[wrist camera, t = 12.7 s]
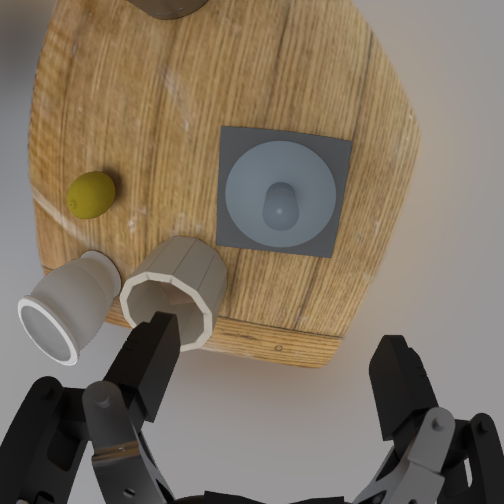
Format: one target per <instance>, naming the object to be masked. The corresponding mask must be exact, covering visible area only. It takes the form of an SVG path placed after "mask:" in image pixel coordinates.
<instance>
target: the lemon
mask: <svg viewBox="0 0 504 504" xmlns="http://www.w3.org/2000/svg"><path fill="white" fill-rule="evenodd" d="M114 198H115V186H114V183H113V181H112V179H111V178H110V177H109V176H108V175H106V174H105V173H102V172H97V171H93V172H88V173H85V174H83V175H82V176H80V177H78V178H77V179H76V180H75V181H74V182H73V183H72V184H71V186H70V188H69V190H68V193H67V205H68V208H69V210H70V211H71V213H72V214H73V215H75V216H76V217H78V218H80V219H92V218H96V217H98V216H100V215H102V214H103V213H105V212H106V211H107V210H108V209H109V208H110V207H111V205H112V203H113V201H114Z"/></svg>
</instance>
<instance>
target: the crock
mask: <svg viewBox="0 0 504 504" xmlns="http://www.w3.org/2000/svg"><path fill="white" fill-rule="evenodd" d="M160 281H161V282H168V283H171V284H173V285H174V286H176V287H178V288H179V289H181V290H182V291H184V292H186V293H187V294H189V295H190V296H191V297H192V298H193V300H194V301H195V302H188V303H181V304H174V305H171V304H170V302H169V300H168V298H167V295H166V293H165V291H164V289H163V287H162V285H161V283H160ZM226 289H227V268H226V266H225V265H224V263H223V261H222V259H221V258H220V256H219V254H218V252H217V251H216V250H215V249H213V248H212V247H210V246H209V245H207V244H205V243H204V242H202V241H201V240H199V239H198V238H191V237H182V236H174V237H172V238H170V239H168V240H166V241H164V242H162V243H160V244H158V245H157V246H156V247H155V248H154V250H153V251H152V252H151V253H150V254H149V255H148V256H147V257H146V258H145V260H144V261H143V262H142V263H141V264H140V265H139V266H138V267H137V269H136V270H135V271H134V272H133V273H132V274H131V276H130V277H129V278H128V279H127V280H126V282H125V285H124V287H123V289H122V292H121V294H120V297H119V298H120V302H121V306H122V310H123V314H124V317H125V319H126V320H127V321H128V322H129V324H130V325H131V326H132V328H133V329H134V328H135V327H136V326H137V325H139V324H140V323H141V322H143V321H144V322H148V323H149V322H150V321H151V319H152V317H153V316H154V314H155V312H156V311H161V312H167V313H172V314H176V315H177V319H178V327H179V334H180V342H181V347H180V352H183V351H187V350H192V349H196V348H200V347H201V346H202V345H203V344H204V343H205V342H206V341H207V340H208V338H209V337H210V336H211V335H212V333H213V330H214V327H215V324H216V321H217V317H218V314H219V311H220V308H221V305H222V302H223V298H224V295H225V292H226Z"/></svg>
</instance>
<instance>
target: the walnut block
mask: <svg viewBox="0 0 504 504" xmlns="http://www.w3.org/2000/svg"><path fill="white" fill-rule="evenodd" d="M160 283H161V285H162V287H163V289H164V291H165V293H166V295H167V298H168V300H169V302H170V304H171V305H174V304H181V303H188V302H195V301H194V300H193V298H192V297H191V296H190V295H189V294H187V293H186V292H184V291H182V290H181V289H179V288H178V287H176V286H174V285H173V284H171V283H168V282H161V281H160Z"/></svg>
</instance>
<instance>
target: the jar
mask: <svg viewBox="0 0 504 504" xmlns="http://www.w3.org/2000/svg"><path fill="white" fill-rule="evenodd" d="M120 289H121V279H120V275H119V273H118V270H117V269H116V267H115V265H114V264H113V263H112V262H111V260H110V259H108V258H107V257H106V256H105V255H103V254H101V253H99V252H96V251H87V252H85V253H84V254H83V255H82V256H81V257H80V259H75V260H72V261H70V262H68V263H66V264H65V265H63V266H61V267H59V268H57V269H55V270H53V271H52V272H50V273H49V274H48V275H46V276H45V277H44V278H43V279H42V280H41V281H40V282H39V283H38V285H37V286H36V287H35V288H34V290H33V292H32V293H31V295H27V296H24V297H23V298H22V299H21V300H20V301H19V303H18V314H19V317H20V320H21V322H22V325H23V327H24V328H25V330H26V332H27V333H28V335H29V336H30V338H31V339H32V340H33V341H34V343H35V344H36V345H37V346H38V347H39V348H40V349H41V350H42V351H43V352H44V353H45V354H47V355H48V356H49V357H51V358H52V359H54V360H55V361H57V362H59V363H61V364H64V365H68V366H72V365H74V364H75V363H76V362H77V360H78V359H79V356H80V350H82V349H83V348H84V347H85V346H86V345H87V344H88V343H89V342H90V341H91V340H92V339H93V338H94V337H95V335H96V334H97V332H98V331H99V329H100V328H101V326H102V324H103V322H104V320H105V318H106V315H107V314H108V312H109V310H110V307H111V305H112V302H113V298H114V297H116V296H117V295H118V294H119V292H120Z"/></svg>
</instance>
